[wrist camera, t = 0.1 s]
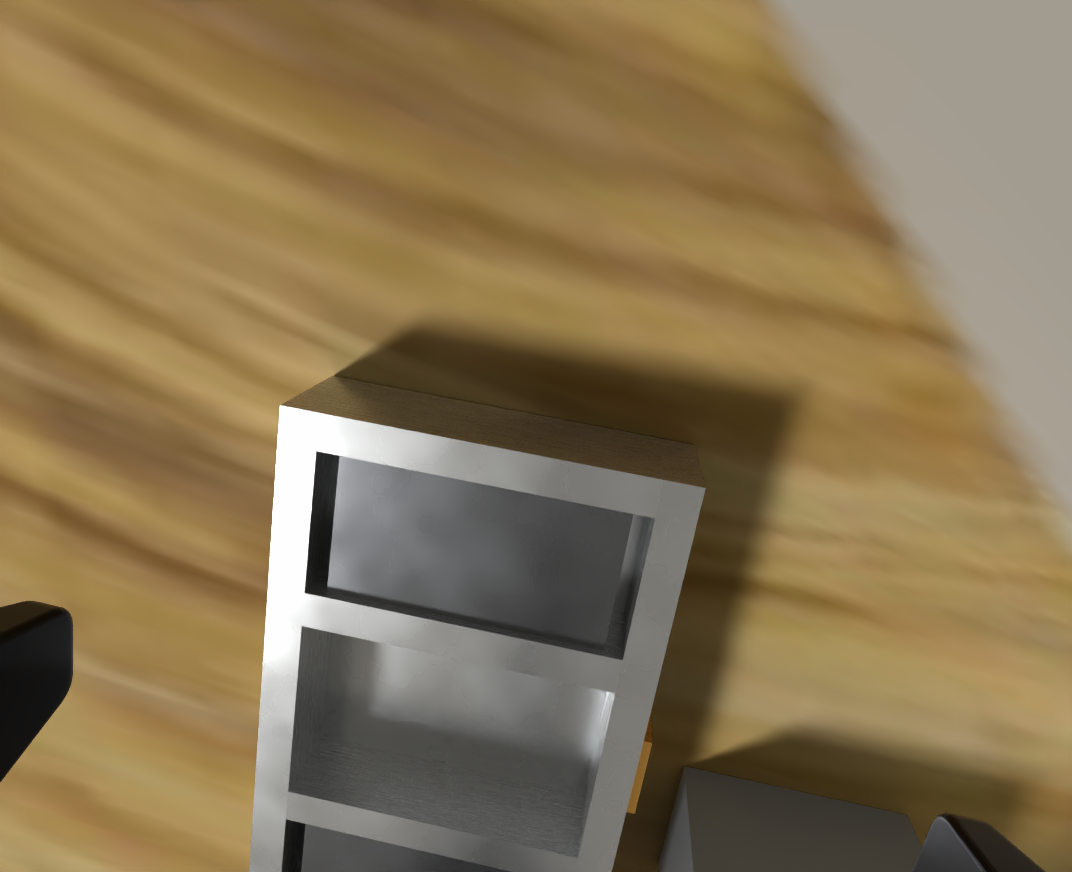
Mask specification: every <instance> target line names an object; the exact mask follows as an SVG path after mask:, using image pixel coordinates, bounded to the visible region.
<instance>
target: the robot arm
mask: <svg viewBox="0 0 1072 872" xmlns="http://www.w3.org/2000/svg"><path fill="white" fill-rule="evenodd" d="M72 676H73V621H72V617H71V615H70V613H69V612H68V611H67V610H66V609H64V608H62V607H58V606H53V605H49V604H45V603H41V602H36V601H24V602H20V603H16V604H12V605H8V606H4V607H0V782H1V781H2V779H3V778H4V777H5V775H6V774H7V773H8V772H9V770H10V769H11V768H12V766H13V765H14V764H15V762H16V761H17V760H18V759H19V757H20V756H21V755H22V753H23V752H24V751H25V749H26V748H27V747H28V746H29V744H30V743H31V742H32V740H33V739H34V738H35V736H36V735H37V734H38V733H39V731H40V730H41V729H42V727H43V726H44V725H45V723H46V722H47V721H48V720H49V718H50V717H51V716H52V714H53V713H54V712H55V710H56V709H57V708H58V707H59V705H60V704H61V703H62V701H63V700H64V698H65V696H66V694H67V693H68V691H69V688H70V685H71V682H72ZM912 872H1045V871H1044V870H1043V869H1041V868H1040V867H1039V866H1038V865H1037V864H1036V863H1034V862H1033V861H1032V860H1031V859H1030V858H1029V857H1027V856H1026V855H1025V854H1024V853H1023V852H1021V851H1020V850H1019V849H1018V848H1017V847H1016V846H1014V845H1013V844H1012V843H1011V842H1010V841H1008V840H1007V839H1006V838H1005V837H1004V836H1003V835H1001V834H1000V833H999V832H998V831H997V830H995V829H994V828H993V827H992V826H991V825H989V824H988V823H986V822H984V821H982V820H978V819H974V818H970V817H965V816H961V815H956V814H952V813H942V814H940V815H938V816H937V817H936V818H935V819H934V821H933V823H932V824H931V827H930V829H929V832H928V834H927V836H926V839H925V841H924V844H923V846H922V848H921V851H920V853H919V856H918V858H917V861H916V863H915V865H914V868H913V870H912Z"/></svg>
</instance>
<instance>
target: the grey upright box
mask: <svg viewBox="0 0 1072 872" xmlns="http://www.w3.org/2000/svg"><path fill="white" fill-rule="evenodd" d="M921 848H922V847H921V845H920V843H919V841H918V838H917V836H916V834H915V832H914V829H913V827H912V825H911V823H910V820H909V818H908V816H907V815H904V814H900V813H895V812H891V811H886V810H882V809H877V808H873V807H868V806H863V805H859V804H854V803H850V802H845V801H841V800H836V799H832V798H827V797H823V796H818V795H813V794H809V793H804V792H800V791H795V790H791V789H786V788H782V787H777V786H772V785H768V784H763V783H759V782H754V781H750V780H745V779H741V778H736V777H731V776H727V775H722V774H718V773H713V772H709V771H704V770H700V769H695V768H690V767H686V766H684V769H683V772H682V776H681V780H680V784H679V787H678V791H677V795H676V799H675V802H674V806H673V810H672V814H671V817H670V821H669V825H668V829H667V832H666V836H665V840H664V844H663V847H662V851H661V855H660V858H659V862H658V872H912V870H913V868H914V865H915V863H916V861H917V858H918V856H919V853H920V851H921Z"/></svg>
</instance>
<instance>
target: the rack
mask: <svg viewBox="0 0 1072 872" xmlns="http://www.w3.org/2000/svg"><path fill="white" fill-rule="evenodd" d="M705 489H706V487H705V483H704V479H703V475H702V471H701V467H700V463H699V459H698V455H697V451H696V447H695V445H693V444H688V443H682V442H677V441H672V440H667V439H661V438H656V437H651V436H646V435H640V434H635V433H630V432H625V431H620V430H614V429H609V428H604V427H599V426H593V425H588V424H583V423H578V422H572V421H567V420H562V419H557V418H552V417H546V416H541V415H536V414H531V413H525V412H520V411H515V410H510V409H504V408H499V407H494V406H489V405H484V404H478V403H473V402H468V401H463V400H457V399H452V398H447V397H442V396H436V395H431V394H426V393H421V392H416V391H410V390H405V389H400V388H395V387H389V386H384V385H379V384H374V383H368V382H363V381H358V380H353V379H348V378H342V377H337V376H331V377H329V378H328V379H326V380H324V381H322V382H321V383H319V384H317V385H315V386H313V387H312V388H310V389H308V390H306V391H305V392H303V393H301V394H299V395H297V396H296V397H294V398H292V399H290V400H289V401H287V402H285V403H283V404H281V405H280V414H279V429H278V445H277V460H276V475H275V490H274V505H273V520H272V535H271V550H270V565H269V580H268V595H267V610H266V625H265V640H264V655H263V670H262V686H261V701H260V716H259V731H258V746H257V761H256V776H255V791H254V806H253V821H252V836H251V851H250V866H249V872H612V869H613V865H614V860H615V856H616V852H617V848H618V844H619V840H620V836H621V832H622V828H623V824H624V820H625V816H626V812H628V813H632V814H635V811H636V807H637V803H638V799H639V795H640V791H641V787H642V782H643V778H644V774H645V770H646V766H647V762H648V758H649V754H650V750H651V746H652V718H651V715H650V714H651V710H652V705H653V701H654V697H655V693H656V689H657V685H658V681H659V677H660V673H661V669H662V665H663V661H664V656H665V652H666V648H667V644H668V640H669V636H670V632H671V628H672V624H673V620H674V616H675V612H676V608H677V603H678V599H679V595H680V591H681V587H682V583H683V579H684V575H685V571H686V567H687V563H688V559H689V554H690V550H691V546H692V542H693V538H694V534H695V530H696V526H697V522H698V518H699V514H700V510H701V506H702V501H703V497H704V493H705Z"/></svg>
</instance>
